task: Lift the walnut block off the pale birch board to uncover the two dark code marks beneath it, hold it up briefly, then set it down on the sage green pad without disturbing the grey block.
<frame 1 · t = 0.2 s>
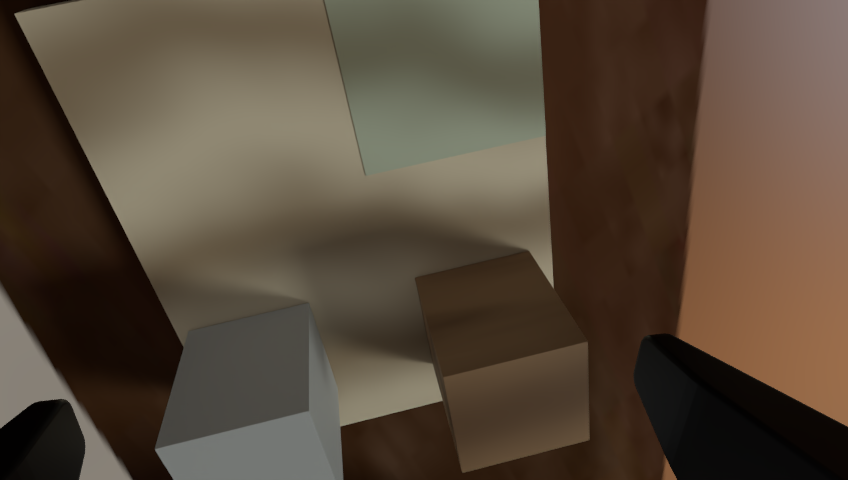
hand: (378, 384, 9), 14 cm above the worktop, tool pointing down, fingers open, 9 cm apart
code board: (352, 225, 23), on the worktop
walnut block: (478, 310, 25), point 1 cm above the worktop, touching code board
grey block: (267, 361, 25), point 1 cm above the worktop, touching code board
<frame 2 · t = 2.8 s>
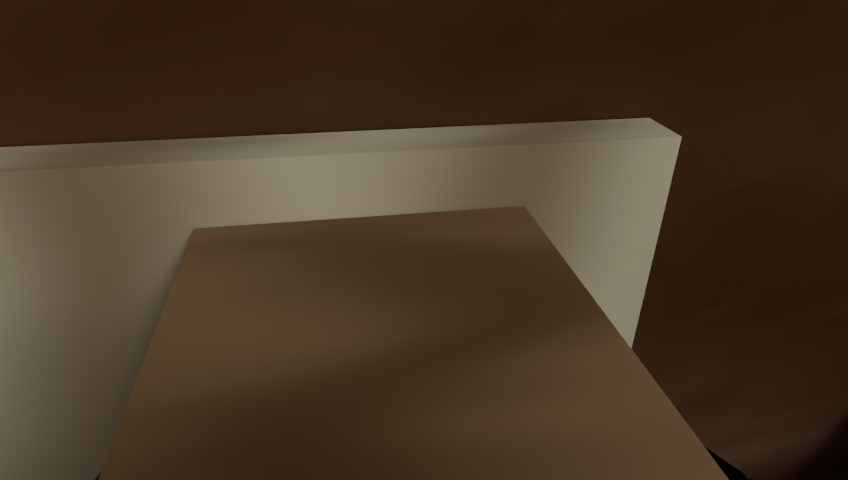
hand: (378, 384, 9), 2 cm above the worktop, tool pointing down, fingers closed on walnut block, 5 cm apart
walnut block: (372, 345, 10), point 1 cm above the worktop, touching code board, gripper
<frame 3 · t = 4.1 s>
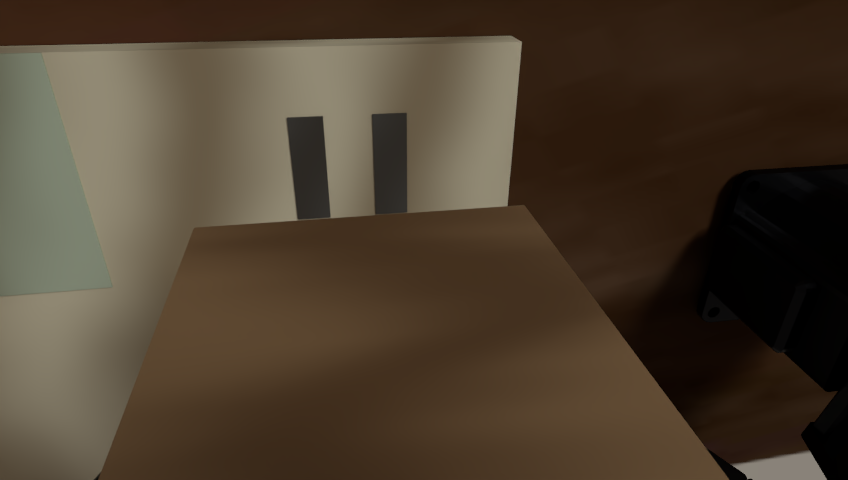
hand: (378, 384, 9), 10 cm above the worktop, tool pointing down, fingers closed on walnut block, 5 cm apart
code board: (207, 288, 19), on the worktop
walnut block: (372, 344, 10), point 9 cm above the worktop, touching gripper
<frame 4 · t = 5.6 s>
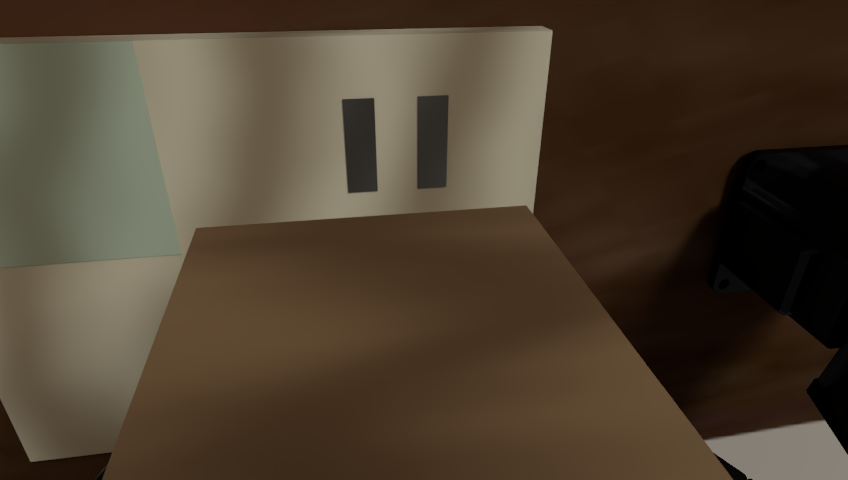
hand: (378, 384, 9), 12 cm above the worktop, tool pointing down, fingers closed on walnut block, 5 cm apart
code board: (262, 258, 21), on the worktop
walnut block: (373, 345, 10), point 11 cm above the worktop, touching gripper
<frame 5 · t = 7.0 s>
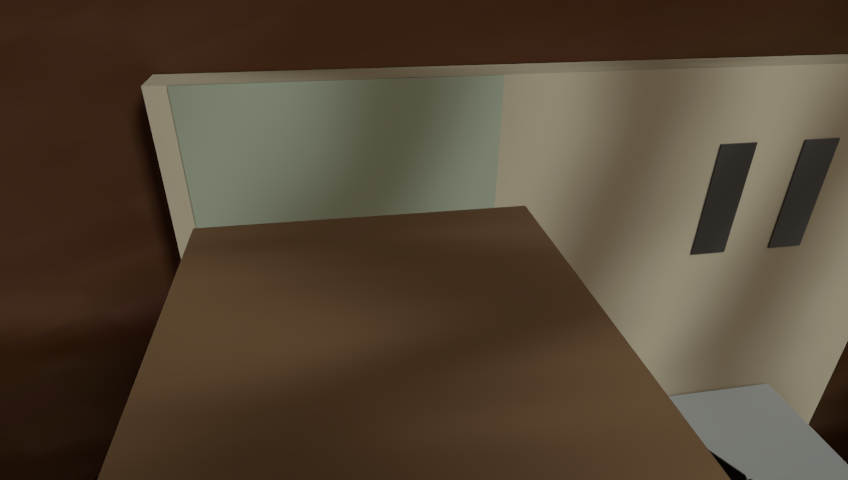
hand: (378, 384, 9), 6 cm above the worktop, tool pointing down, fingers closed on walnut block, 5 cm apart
code board: (552, 326, 18), on the worktop
walnut block: (372, 346, 10), point 5 cm above the worktop, touching gripper
grey block: (682, 445, 20), point 1 cm above the worktop, touching code board
when the fingers open (3 cm above the worktop, at t = 8.3 s): walnut block drops 1 cm, resting on code board.
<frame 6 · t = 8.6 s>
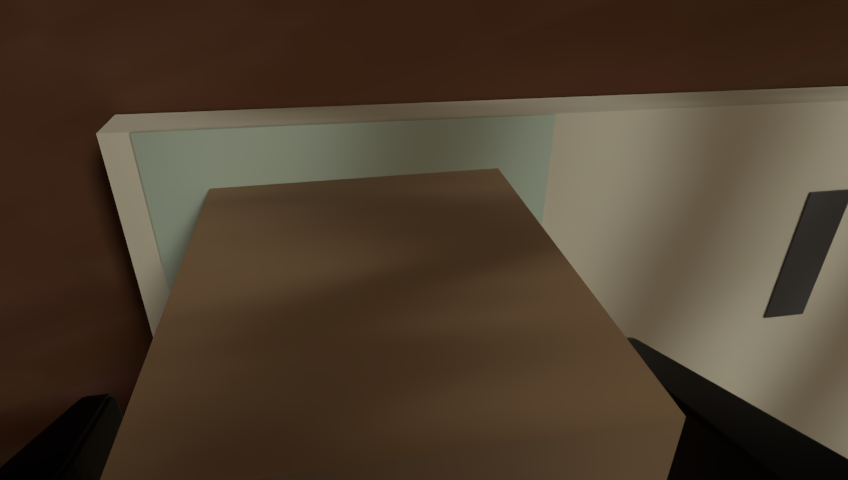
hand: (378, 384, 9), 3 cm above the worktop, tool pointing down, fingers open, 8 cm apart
code board: (594, 394, 15), on the worktop
walnut block: (366, 296, 11), point 1 cm above the worktop, touching code board
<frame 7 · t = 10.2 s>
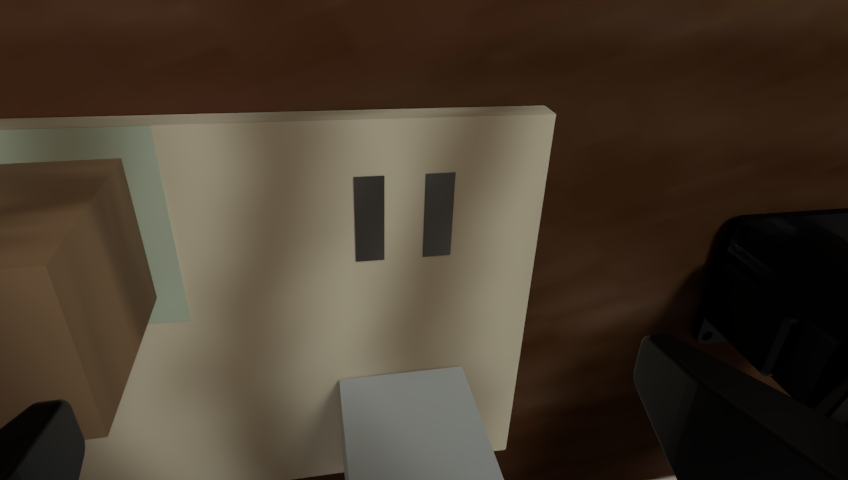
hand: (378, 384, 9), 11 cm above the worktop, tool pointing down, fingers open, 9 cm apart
code board: (268, 318, 22), on the worktop
walnut block: (53, 238, 18), point 1 cm above the worktop, touching code board
grey block: (400, 417, 24), point 1 cm above the worktop, touching code board
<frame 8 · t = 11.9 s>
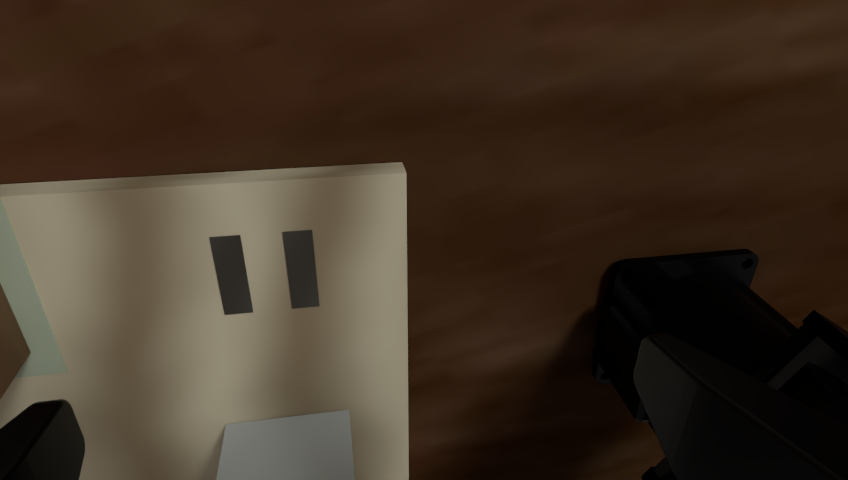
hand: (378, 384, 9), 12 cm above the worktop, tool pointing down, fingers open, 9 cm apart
code board: (153, 366, 23), on the worktop
grey block: (294, 458, 25), point 1 cm above the worktop, touching code board
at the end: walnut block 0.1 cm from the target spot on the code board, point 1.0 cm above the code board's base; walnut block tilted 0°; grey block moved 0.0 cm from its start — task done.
